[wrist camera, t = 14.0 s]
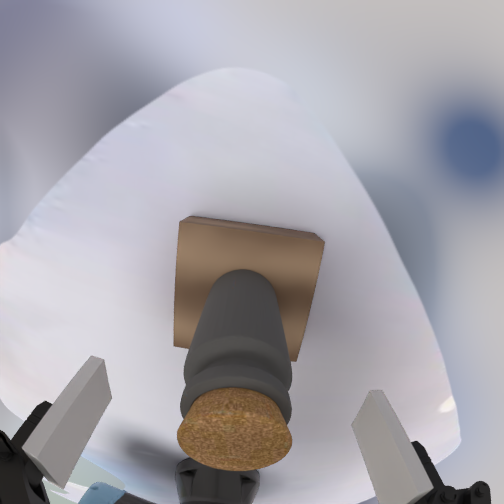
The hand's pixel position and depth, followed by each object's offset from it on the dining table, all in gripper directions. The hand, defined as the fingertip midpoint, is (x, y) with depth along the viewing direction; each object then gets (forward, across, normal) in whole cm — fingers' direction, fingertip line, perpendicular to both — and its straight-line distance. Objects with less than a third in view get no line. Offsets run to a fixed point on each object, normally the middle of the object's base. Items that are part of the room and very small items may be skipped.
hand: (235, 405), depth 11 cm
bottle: (+13, 0, 0) cm, 13 cm away
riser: (+16, 0, 0) cm, 16 cm away
